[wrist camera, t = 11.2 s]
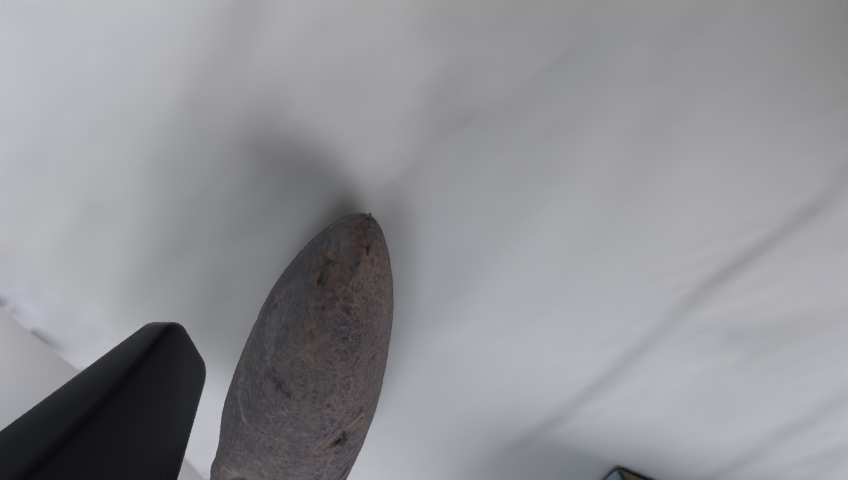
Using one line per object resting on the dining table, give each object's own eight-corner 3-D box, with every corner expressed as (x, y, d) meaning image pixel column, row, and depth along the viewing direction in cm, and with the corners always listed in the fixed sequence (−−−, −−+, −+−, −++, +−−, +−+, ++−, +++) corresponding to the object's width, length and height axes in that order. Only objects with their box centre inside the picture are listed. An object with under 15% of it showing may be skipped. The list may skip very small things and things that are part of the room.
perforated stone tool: (312, 144, 23) (225, 301, 18) (467, 205, 23) (426, 376, 18) (243, 395, 33) (175, 542, 28) (352, 435, 33) (304, 586, 28)
